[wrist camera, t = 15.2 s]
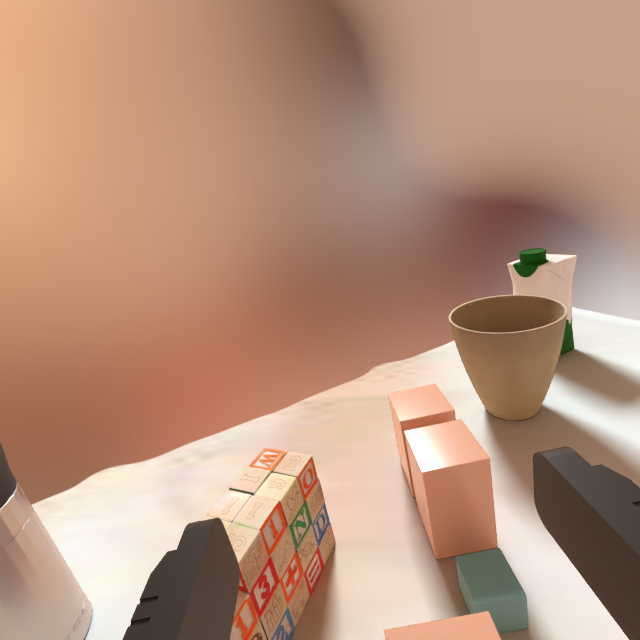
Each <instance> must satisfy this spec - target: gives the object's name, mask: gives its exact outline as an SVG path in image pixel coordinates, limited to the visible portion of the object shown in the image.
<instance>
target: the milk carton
mask: <svg viewBox="0 0 640 640" xmlns="http://www.w3.org/2000/svg"><path fill="white" fill-rule="evenodd" d="M576 258H577V256H576V255H554V254H553V255H552V254H546V250H545V249H542V248H536V249H528V250H524V251H521V252H520V260H517V261H514V262H511V263H509V264H508V268H509V272H510V275H511V279H512V282H513V294H514V295H535V296H543V297H548V298H551V299H554V300H557V301H560V302H561V303H563V304H564V305H565V306H566V307H567V309H568V313H567V319H566V326H565V331H564V337H563V342H562V347H561V351H560V355H562V354H564V353H566V352H568V351H570V350H572V349H574V341H573V331H572V277H573V272H574V267H575V263H576Z"/></svg>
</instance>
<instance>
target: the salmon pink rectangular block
mask: <svg viewBox="0 0 640 640" xmlns="http://www.w3.org/2000/svg"><path fill="white" fill-rule="evenodd" d="M384 633H385V639H386V640H501V638H500V636H499V634H498V631H497V629H496V627H495V625H494V622H493V620H492V618H491V616H490V613H489V611H486V612H480V613H475V614H469V615H464V616H458V617H453V618H447V619H442V620H436V621H431V622H426V623H420V624H415V625H409V626H404V627H398V628H393V629H387V630H384Z"/></svg>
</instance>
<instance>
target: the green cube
mask: <svg viewBox="0 0 640 640" xmlns="http://www.w3.org/2000/svg"><path fill="white" fill-rule="evenodd" d="M455 561H456V568H457V575H458V582H459V588H460V591H461V593H462V596H463V598H464V601H465V603H466V606H467V608H468V611H469V613H470V614H475V613H480V612H486V611H489V613H490V616H491V618H492V620H493V622H494V625H495V627H496V629H497V631H498V634H502V633H507V632H513V631H518V630H524V629H528V618H527V601H526V594H525V592H524V590H523V589H522V587H521V585H520V583H519V582H518V580H517V578H516V576H515V575H514V573H513V571H512V569H511V567H510V566H509V564H508V562H507V560H506V559H505V557H504V555H503V553H502V551H501V550H500V548H497V549H491V550H486V551H481V552H476V553H471V554H466V555H461V556H456V557H455Z"/></svg>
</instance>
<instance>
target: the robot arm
mask: <svg viewBox="0 0 640 640" xmlns="http://www.w3.org/2000/svg"><path fill="white" fill-rule="evenodd" d="M533 476H534V499H535V505H536V509H537V511H538V514H539V516H540V518H541V520H542V522H543V524H544V526H545V527H546V529H547V530H548V532H549V533H550V534H551V536H552V537H553V538H554V540H555V541H556V542H557V544H558V545H559V546H560V548H561V549H562V550H563V552H564V553H565V554H566V556H567V557H568V558H569V560H570V561H571V562H572V564H573V565H574V566H575V568H576V569H577V570H578V572H579V573H580V574H581V576H582V577H583V578H584V580H585V581H586V582H587V584H588V585H589V586H590V588H591V589H592V590H593V592H594V593H595V594H596V596H597V597H598V598H599V600H600V601H601V602H602V604H603V605H604V606H605V608H606V609H607V610H608V612H609V613H610V614H611V616H612V617H613V618H614V620H615V621H616V622H617V624H618V625H619V626H620V628H621V629H622V630H623V632H624V633H625V634H626V636H627V637H628V638H629V640H640V488H639V487H638V486H637V485H636V484H634V483H633V482H632V481H631V480H630V479H628V478H626V477H624V476H622V475H620V474H618V473H616V472H614V471H613V470H611V469H609V468H607V467H605V466H603V465H596V466H591V465H590V464H589V463H587V462H586V461H585V460H584V459H583V458H582V457H581V456H580V455H579V454H578V453H576V452H575V451H574V450H573V449H571V448H569V447H562V448H557V449H553V450H548V451H543V452H538V453H535V454H534V456H533ZM239 582H240V574H239V565H238V560H237V557H236V555H235V552H234V550H233V547H232V545H231V542H230V540H229V537H228V535H227V532H226V530H225V527H224V525H223V522H222V520H221V519H220V518H213V519H208V520H203V521H198V522H193V523H189V524H188V525H187V526H186V528H185V530H184V532H183V535H182V537H181V540H180V542H179V545H178V548H177V550H173V551H168V552H167V553H166V555H165V556H164V557H163V558H162V560H161V561H160V562H159V564H158V565H157V566H156V568H155V569H154V570H153V572H152V573H151V575H150V577H149V579H148V582H147V584H146V586H145V589H144V591H143V593H142V596H141V598H140V604H138V605H137V607H136V610H135V612H134V614H133V617H132V619H131V625H130V627H128V628H127V631H126V633H125V635H124V638H123V640H230V636H231V630H232V625H233V619H234V613H235V608H236V602H237V597H238V591H239ZM91 620H92V606H91V603H90V602H89V600H88V598H87V597H86V595H85V593H84V592H83V590H82V588H81V587H80V585H79V583H78V582H77V580H76V578H75V576H74V575H73V573H72V572H71V570H70V568H69V567H68V565H67V563H66V562H65V560H64V558H63V557H62V555H61V553H60V552H59V550H58V548H57V547H56V545H55V544H54V542H53V540H52V539H51V537H50V535H49V534H48V532H47V530H46V529H45V527H44V525H43V524H42V522H41V520H40V519H39V517H38V516H37V514H36V512H35V511H34V509H33V507H32V506H31V504H30V503H29V501H28V499H27V498H26V496H25V494H24V493H23V491H22V489H21V488H20V486H19V484H18V483H17V481H16V479H15V477H14V476H13V474H12V472H11V471H10V468H9V466H8V463H7V459H6V456H5V454H4V450H3V448H2V445H1V443H0V640H84V638H85V636H86V634H87V632H88V629H89V627H90V624H91Z"/></svg>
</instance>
